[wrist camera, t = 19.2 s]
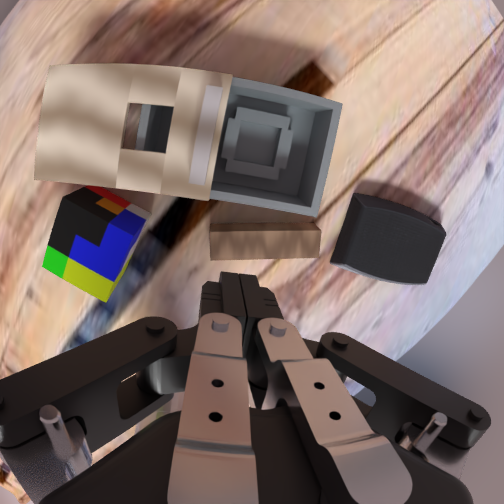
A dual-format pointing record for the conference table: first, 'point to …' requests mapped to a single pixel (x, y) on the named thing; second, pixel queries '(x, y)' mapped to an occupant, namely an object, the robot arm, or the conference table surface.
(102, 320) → the conference table surface
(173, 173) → the lid
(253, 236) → the brown block
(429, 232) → the external hard drive
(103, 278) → the puzzle toy
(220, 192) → the toolbox
